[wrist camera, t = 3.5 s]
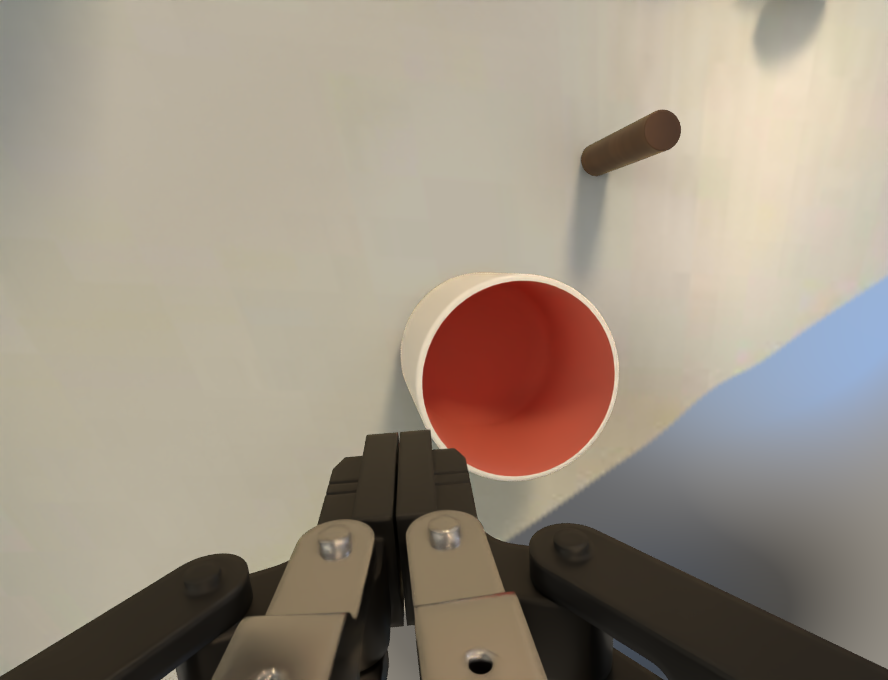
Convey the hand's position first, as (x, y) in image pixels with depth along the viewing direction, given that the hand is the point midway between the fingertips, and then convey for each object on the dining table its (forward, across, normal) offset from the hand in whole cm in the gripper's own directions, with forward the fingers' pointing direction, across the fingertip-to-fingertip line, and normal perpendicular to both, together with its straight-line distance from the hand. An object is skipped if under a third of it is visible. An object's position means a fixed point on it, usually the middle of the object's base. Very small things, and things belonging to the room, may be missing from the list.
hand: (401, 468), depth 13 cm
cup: (+23, -4, +4) cm, 24 cm away
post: (+25, -13, -7) cm, 29 cm away
